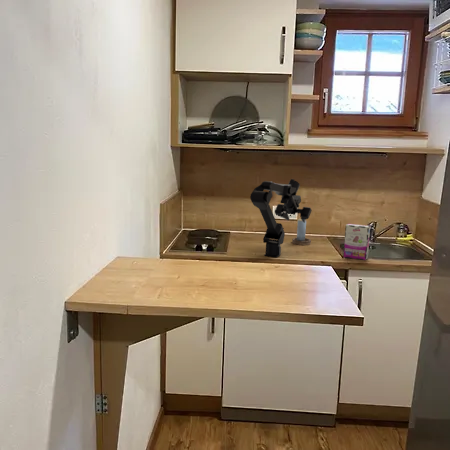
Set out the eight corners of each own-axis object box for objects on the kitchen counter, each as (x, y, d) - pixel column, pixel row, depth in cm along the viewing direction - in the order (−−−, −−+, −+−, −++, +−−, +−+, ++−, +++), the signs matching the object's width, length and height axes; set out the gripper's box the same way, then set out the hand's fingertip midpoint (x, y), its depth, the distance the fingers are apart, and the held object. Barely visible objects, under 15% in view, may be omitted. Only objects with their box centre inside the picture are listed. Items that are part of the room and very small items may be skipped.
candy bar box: (368, 258, 230) (371, 225, 227) (365, 260, 225) (369, 227, 222) (345, 255, 235) (347, 223, 232) (342, 257, 231) (345, 224, 228)
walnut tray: (290, 243, 257) (290, 240, 256) (295, 240, 266) (295, 236, 265) (308, 245, 253) (308, 242, 252) (312, 242, 262) (312, 239, 261)
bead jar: (296, 242, 256) (298, 220, 254) (296, 240, 260) (297, 218, 258) (305, 243, 255) (306, 220, 253) (304, 241, 260) (306, 219, 258)
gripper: (311, 192, 237) (318, 211, 248) (278, 188, 247) (285, 207, 258) (304, 209, 232) (311, 227, 243) (270, 205, 242) (278, 223, 253)
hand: (296, 220), depth 249 cm, fingers open, 9 cm apart
